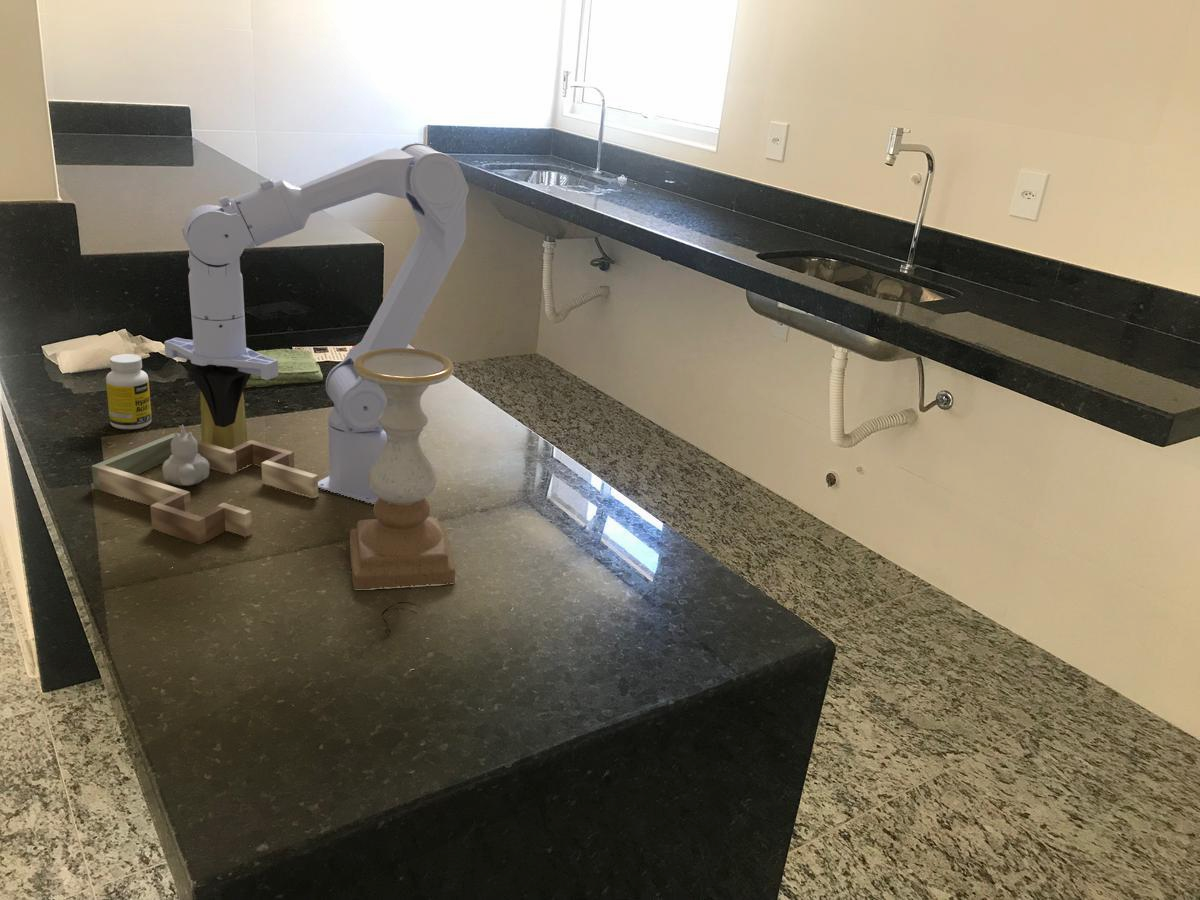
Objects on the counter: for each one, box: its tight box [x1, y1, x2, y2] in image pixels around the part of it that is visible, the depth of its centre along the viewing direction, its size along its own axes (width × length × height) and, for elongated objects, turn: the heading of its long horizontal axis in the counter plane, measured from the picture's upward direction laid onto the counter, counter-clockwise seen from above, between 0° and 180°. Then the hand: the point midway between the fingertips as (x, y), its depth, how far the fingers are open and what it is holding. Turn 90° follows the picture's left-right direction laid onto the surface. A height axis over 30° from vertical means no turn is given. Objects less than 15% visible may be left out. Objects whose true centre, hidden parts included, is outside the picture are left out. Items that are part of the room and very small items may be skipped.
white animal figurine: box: [161, 424, 210, 487], centre depth 121 cm, size 5×7×8 cm
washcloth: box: [245, 348, 324, 388], centre depth 162 cm, size 13×18×3 cm
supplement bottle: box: [105, 353, 153, 430], centre depth 137 cm, size 5×5×10 cm
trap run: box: [91, 432, 319, 546], centre depth 121 cm, size 24×21×3 cm
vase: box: [199, 390, 249, 449], centre depth 132 cm, size 6×6×14 cm
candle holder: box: [349, 347, 456, 589], centre depth 105 cm, size 11×11×24 cm
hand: (224, 423), depth 117 cm, fingers closed
